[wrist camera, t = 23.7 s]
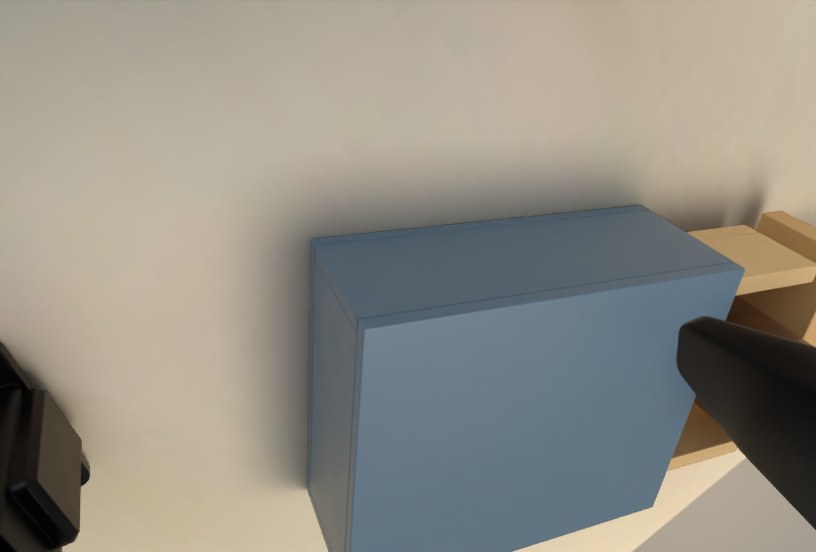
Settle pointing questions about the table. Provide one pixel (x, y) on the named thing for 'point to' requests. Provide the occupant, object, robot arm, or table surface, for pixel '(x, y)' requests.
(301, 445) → the table surface
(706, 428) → the drawer
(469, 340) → the cabinet
